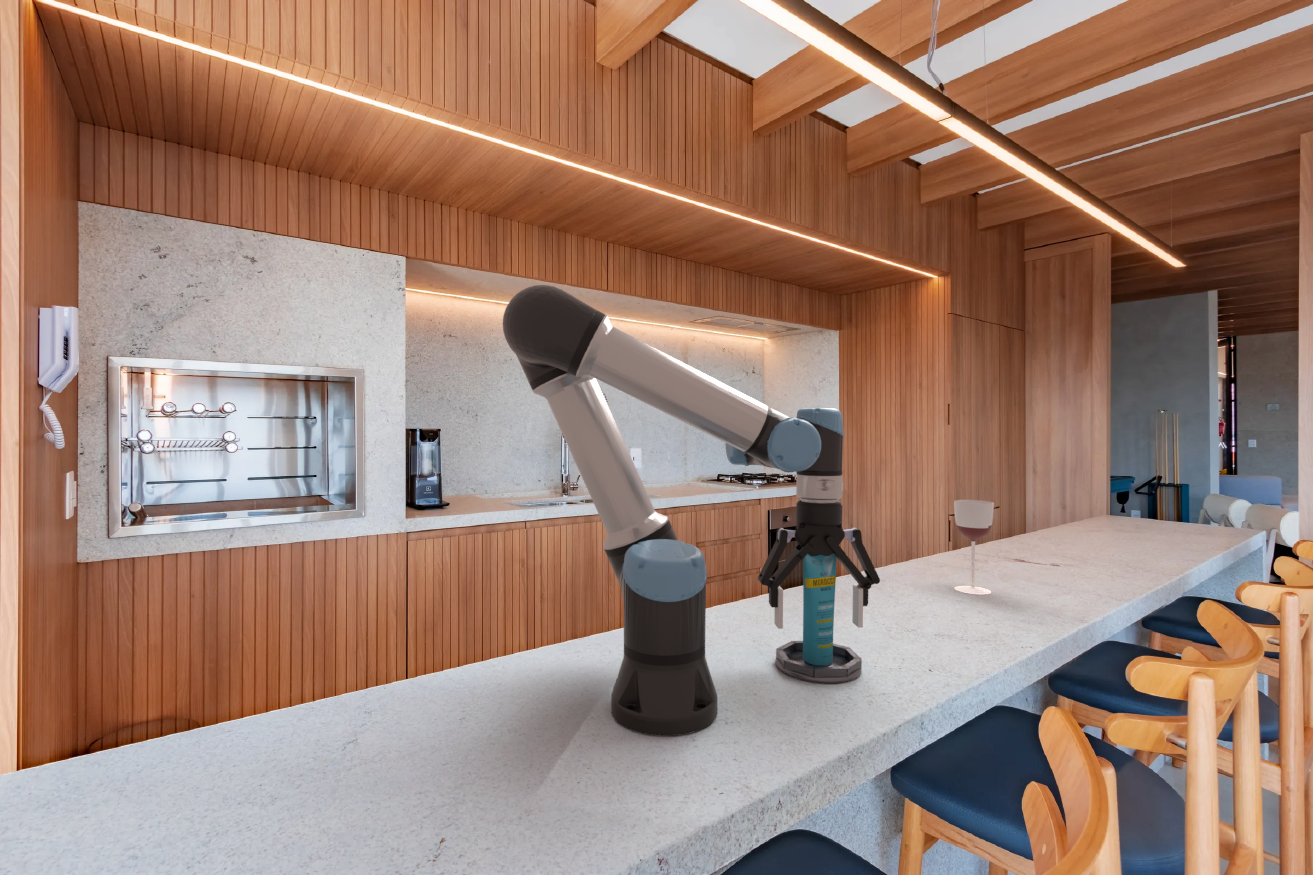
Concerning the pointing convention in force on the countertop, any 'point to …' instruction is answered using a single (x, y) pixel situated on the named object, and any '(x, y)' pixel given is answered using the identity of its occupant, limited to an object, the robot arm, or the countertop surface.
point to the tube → (818, 608)
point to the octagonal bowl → (839, 671)
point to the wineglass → (973, 532)
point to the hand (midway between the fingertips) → (818, 625)
